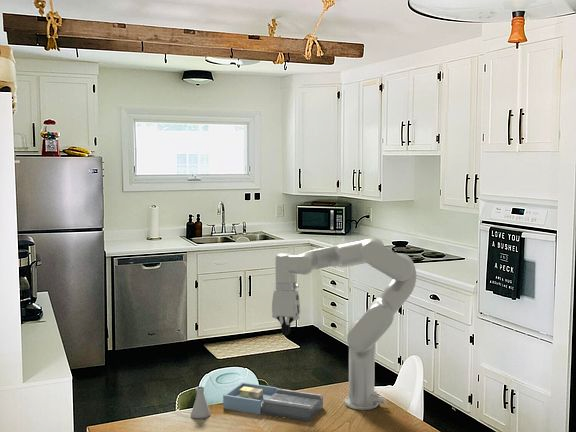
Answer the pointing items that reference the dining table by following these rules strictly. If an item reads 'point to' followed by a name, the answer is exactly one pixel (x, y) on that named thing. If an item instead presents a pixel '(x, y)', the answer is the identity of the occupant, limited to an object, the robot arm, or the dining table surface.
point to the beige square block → (256, 394)
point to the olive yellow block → (244, 392)
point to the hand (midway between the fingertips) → (285, 334)
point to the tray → (246, 399)
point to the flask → (200, 405)
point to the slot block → (293, 405)
